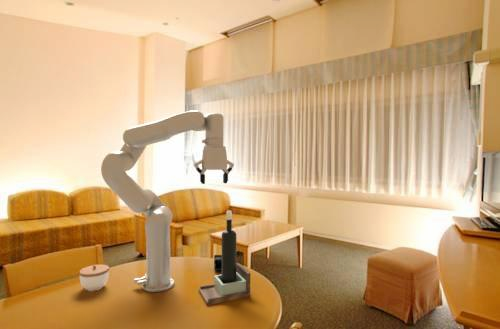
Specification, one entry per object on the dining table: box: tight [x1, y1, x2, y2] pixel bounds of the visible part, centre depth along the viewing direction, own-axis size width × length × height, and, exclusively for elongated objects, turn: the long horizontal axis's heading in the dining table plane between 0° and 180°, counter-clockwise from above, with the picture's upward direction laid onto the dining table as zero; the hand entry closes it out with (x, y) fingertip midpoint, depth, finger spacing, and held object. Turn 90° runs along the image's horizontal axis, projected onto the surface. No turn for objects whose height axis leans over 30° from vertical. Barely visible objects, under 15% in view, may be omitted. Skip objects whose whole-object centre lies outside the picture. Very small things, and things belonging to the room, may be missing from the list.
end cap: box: [213, 254, 222, 273], centre depth 139 cm, size 10×7×7 cm
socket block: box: [213, 272, 246, 296], centre depth 114 cm, size 10×10×4 cm
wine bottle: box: [221, 209, 237, 284], centre depth 114 cm, size 6×6×30 cm
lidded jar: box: [79, 264, 110, 292], centre depth 118 cm, size 11×11×9 cm
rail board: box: [198, 262, 251, 306], centre depth 113 cm, size 17×12×9 cm
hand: (214, 183), depth 123 cm, fingers open, 9 cm apart
